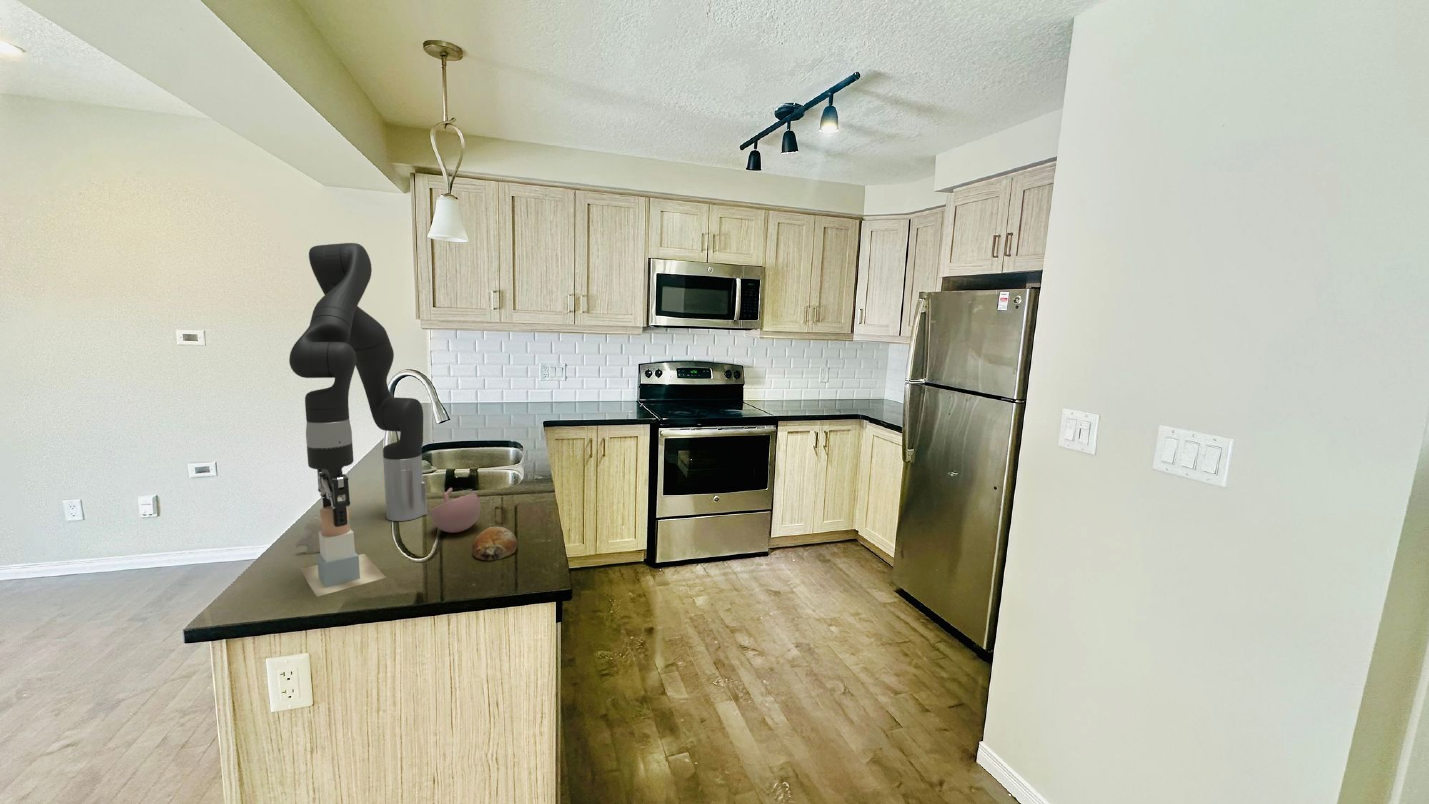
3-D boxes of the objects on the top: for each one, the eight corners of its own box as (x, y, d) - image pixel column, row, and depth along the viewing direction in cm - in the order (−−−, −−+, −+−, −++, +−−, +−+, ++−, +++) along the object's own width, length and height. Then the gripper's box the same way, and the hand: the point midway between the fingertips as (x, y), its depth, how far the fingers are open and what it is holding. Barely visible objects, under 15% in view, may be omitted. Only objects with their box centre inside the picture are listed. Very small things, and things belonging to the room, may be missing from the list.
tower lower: (352, 568, 119) (350, 546, 118) (360, 578, 115) (358, 555, 114) (318, 577, 115) (316, 554, 114) (325, 587, 111) (323, 564, 110)
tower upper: (348, 548, 118) (347, 525, 117) (355, 555, 114) (353, 532, 114) (320, 554, 114) (318, 531, 113) (326, 562, 111) (324, 538, 110)
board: (364, 559, 127) (364, 553, 127) (386, 584, 116) (386, 577, 116) (300, 575, 119) (299, 569, 118) (317, 603, 108) (316, 596, 107)
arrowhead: (295, 562, 124) (292, 520, 123) (297, 558, 127) (294, 516, 125) (338, 556, 128) (335, 515, 127) (339, 552, 130) (336, 511, 129)
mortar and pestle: (459, 519, 153) (458, 479, 152) (491, 528, 148) (490, 486, 147) (420, 534, 143) (418, 491, 141) (452, 543, 138) (450, 499, 136)
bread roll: (521, 565, 135) (529, 531, 138) (494, 563, 126) (503, 527, 128) (488, 558, 139) (496, 525, 141) (459, 556, 129) (469, 521, 131)
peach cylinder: (346, 526, 117) (345, 503, 116) (352, 532, 114) (351, 509, 113) (319, 531, 113) (317, 508, 113) (324, 538, 110) (322, 514, 109)
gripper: (361, 446, 109) (366, 525, 111) (342, 433, 118) (347, 507, 121) (315, 451, 103) (321, 534, 106) (299, 438, 113) (305, 514, 115)
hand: (335, 519), depth 113 cm, fingers open, 8 cm apart
